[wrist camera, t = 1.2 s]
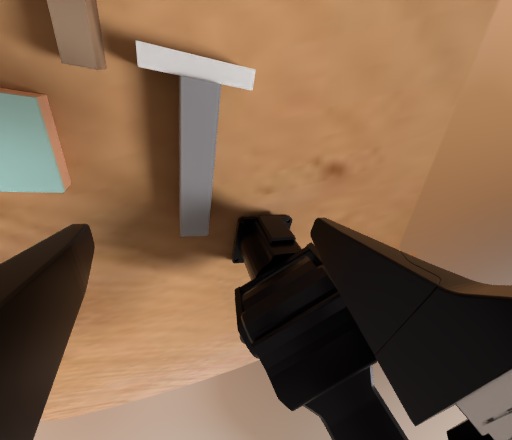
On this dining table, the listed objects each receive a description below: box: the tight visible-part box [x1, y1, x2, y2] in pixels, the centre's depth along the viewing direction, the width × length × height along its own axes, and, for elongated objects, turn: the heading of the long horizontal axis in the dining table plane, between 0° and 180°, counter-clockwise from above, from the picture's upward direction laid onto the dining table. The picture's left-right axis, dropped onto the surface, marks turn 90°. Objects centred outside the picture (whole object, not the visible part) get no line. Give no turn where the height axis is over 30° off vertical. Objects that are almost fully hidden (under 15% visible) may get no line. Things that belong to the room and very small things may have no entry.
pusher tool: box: [136, 40, 256, 237], centre depth 17 cm, size 13×7×3 cm, turn 169°
